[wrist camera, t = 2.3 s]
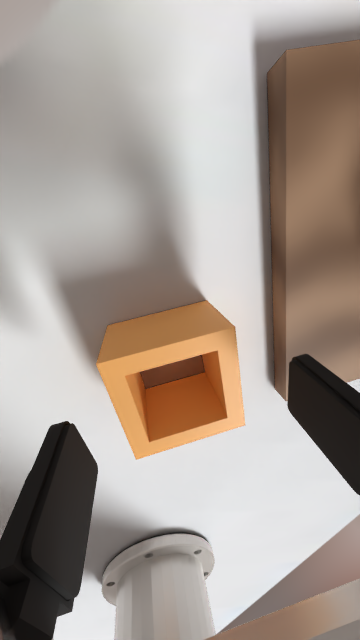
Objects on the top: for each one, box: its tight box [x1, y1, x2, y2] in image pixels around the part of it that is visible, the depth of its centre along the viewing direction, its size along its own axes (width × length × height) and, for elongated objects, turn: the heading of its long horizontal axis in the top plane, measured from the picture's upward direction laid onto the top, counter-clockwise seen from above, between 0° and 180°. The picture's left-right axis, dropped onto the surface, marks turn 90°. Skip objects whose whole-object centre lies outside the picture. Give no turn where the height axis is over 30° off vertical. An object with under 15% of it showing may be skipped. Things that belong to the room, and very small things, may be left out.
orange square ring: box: [96, 300, 245, 459], centre depth 13 cm, size 7×7×4 cm
